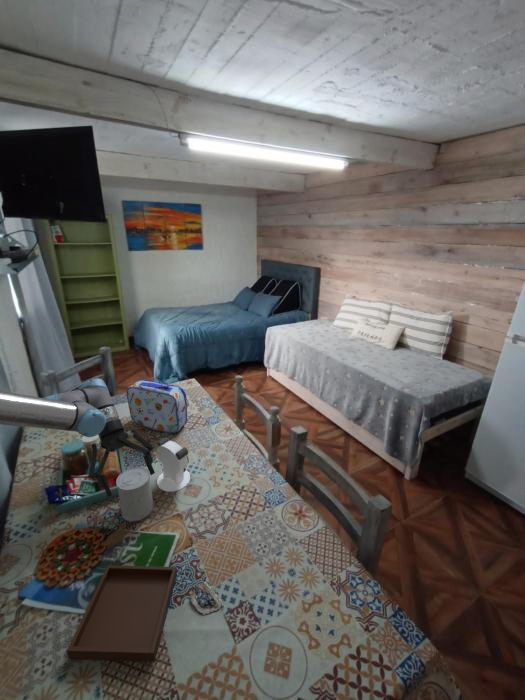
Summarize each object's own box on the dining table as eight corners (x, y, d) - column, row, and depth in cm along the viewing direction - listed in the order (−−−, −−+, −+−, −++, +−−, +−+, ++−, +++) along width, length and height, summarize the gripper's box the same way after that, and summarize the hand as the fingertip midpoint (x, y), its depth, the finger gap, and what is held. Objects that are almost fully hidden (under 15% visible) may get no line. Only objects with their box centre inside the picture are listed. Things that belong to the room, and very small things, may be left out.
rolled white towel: (122, 501, 103) (116, 470, 99) (152, 493, 106) (149, 464, 102) (120, 525, 95) (115, 493, 90) (154, 516, 98) (150, 485, 94)
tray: (69, 659, 65) (66, 650, 64) (109, 573, 81) (107, 564, 80) (154, 661, 65) (153, 653, 64) (177, 574, 81) (176, 566, 80)
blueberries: (200, 579, 81) (199, 573, 80) (228, 591, 78) (228, 586, 77) (185, 606, 75) (184, 600, 74) (214, 620, 72) (214, 615, 71)
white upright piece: (198, 477, 114) (196, 443, 108) (173, 497, 105) (170, 461, 99) (175, 464, 120) (172, 430, 115) (150, 482, 111) (146, 446, 106)
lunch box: (193, 425, 144) (191, 381, 136) (181, 438, 135) (178, 392, 127) (142, 414, 152) (137, 372, 144) (128, 426, 142) (121, 382, 134)
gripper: (65, 435, 93) (90, 504, 88) (147, 406, 109) (171, 463, 104) (64, 442, 98) (88, 507, 94) (142, 413, 115) (165, 468, 110)
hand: (132, 484), depth 99 cm, fingers open, 13 cm apart
